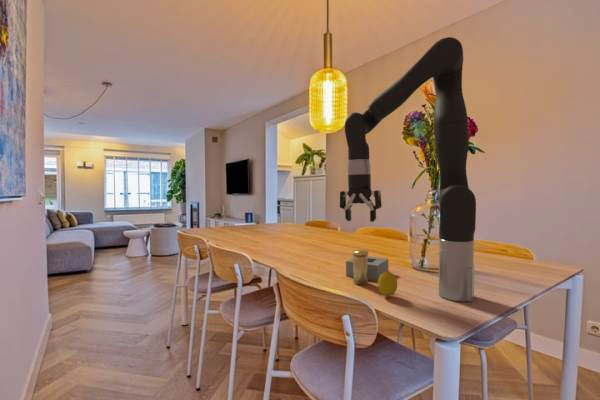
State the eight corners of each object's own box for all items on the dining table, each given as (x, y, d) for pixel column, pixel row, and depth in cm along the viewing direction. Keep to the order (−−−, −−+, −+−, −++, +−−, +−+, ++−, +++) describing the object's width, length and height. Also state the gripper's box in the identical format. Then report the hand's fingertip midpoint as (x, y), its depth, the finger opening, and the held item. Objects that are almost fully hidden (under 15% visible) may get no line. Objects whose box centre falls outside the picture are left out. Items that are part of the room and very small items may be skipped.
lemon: (374, 295, 95) (374, 269, 95) (389, 292, 97) (388, 267, 97) (386, 301, 90) (386, 274, 90) (401, 298, 92) (401, 271, 92)
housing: (388, 272, 119) (388, 258, 118) (377, 281, 109) (377, 265, 109) (359, 268, 125) (359, 255, 125) (346, 275, 116) (345, 261, 115)
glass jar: (370, 282, 108) (370, 250, 107) (364, 286, 103) (364, 253, 103) (356, 279, 111) (356, 249, 110) (349, 283, 106) (349, 252, 106)
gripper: (383, 172, 104) (384, 220, 105) (345, 174, 112) (346, 219, 113) (375, 172, 98) (376, 223, 99) (335, 174, 106) (336, 221, 107)
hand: (360, 221), depth 106 cm, fingers open, 8 cm apart
